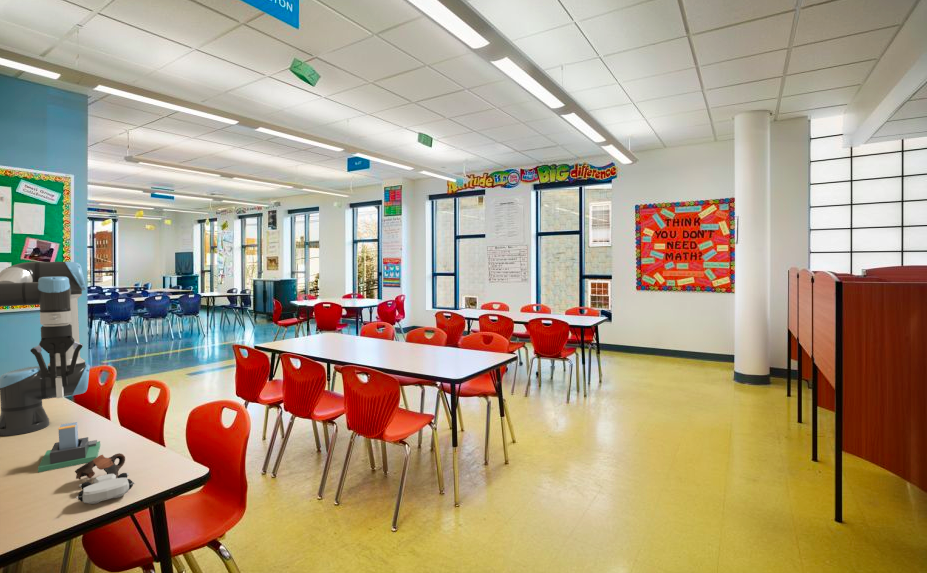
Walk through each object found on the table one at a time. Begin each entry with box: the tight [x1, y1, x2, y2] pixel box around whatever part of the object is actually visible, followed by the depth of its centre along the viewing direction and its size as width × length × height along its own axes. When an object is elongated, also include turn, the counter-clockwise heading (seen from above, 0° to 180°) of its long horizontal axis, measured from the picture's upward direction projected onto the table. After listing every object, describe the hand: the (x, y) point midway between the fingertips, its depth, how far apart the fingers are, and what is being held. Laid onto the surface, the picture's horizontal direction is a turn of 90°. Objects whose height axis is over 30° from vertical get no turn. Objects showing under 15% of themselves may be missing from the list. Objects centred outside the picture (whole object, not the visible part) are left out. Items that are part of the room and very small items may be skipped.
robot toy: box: [76, 472, 136, 505], centre depth 127 cm, size 12×4×15 cm
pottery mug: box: [74, 453, 126, 480], centre depth 137 cm, size 12×10×8 cm
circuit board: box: [37, 436, 101, 473], centre depth 152 cm, size 16×14×5 cm
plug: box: [58, 421, 79, 450], centre depth 150 cm, size 6×4×10 cm, turn 34°
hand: (60, 396), depth 151 cm, fingers closed
